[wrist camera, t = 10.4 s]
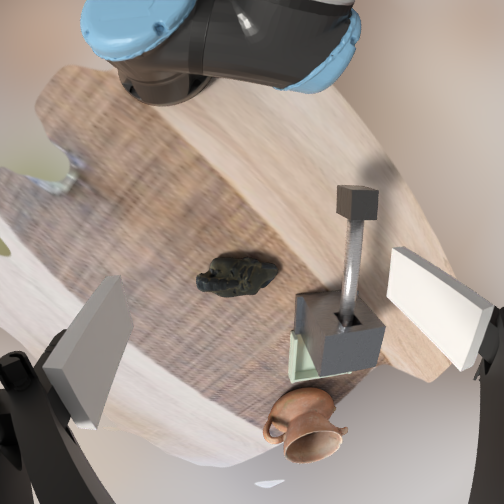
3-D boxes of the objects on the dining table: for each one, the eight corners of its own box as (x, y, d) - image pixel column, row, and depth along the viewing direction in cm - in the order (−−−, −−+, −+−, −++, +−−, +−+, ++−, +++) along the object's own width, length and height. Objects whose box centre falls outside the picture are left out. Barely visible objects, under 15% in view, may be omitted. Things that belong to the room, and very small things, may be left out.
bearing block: (295, 294, 53) (318, 337, 40) (356, 288, 54) (391, 325, 41) (293, 331, 55) (313, 378, 43) (351, 324, 57) (381, 365, 44)
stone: (275, 288, 52) (282, 302, 47) (199, 294, 51) (198, 309, 46) (275, 251, 50) (283, 262, 45) (195, 256, 49) (193, 269, 44)
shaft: (337, 185, 41) (352, 189, 36) (361, 185, 41) (378, 190, 36) (324, 345, 49) (334, 362, 45) (345, 341, 50) (356, 358, 45)
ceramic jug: (340, 377, 61) (362, 421, 48) (327, 418, 66) (343, 460, 52) (261, 383, 59) (270, 433, 46) (256, 424, 64) (263, 470, 50)
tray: (290, 330, 55) (294, 339, 52) (354, 322, 57) (360, 330, 54) (288, 374, 59) (291, 383, 56) (346, 365, 60) (351, 373, 57)
